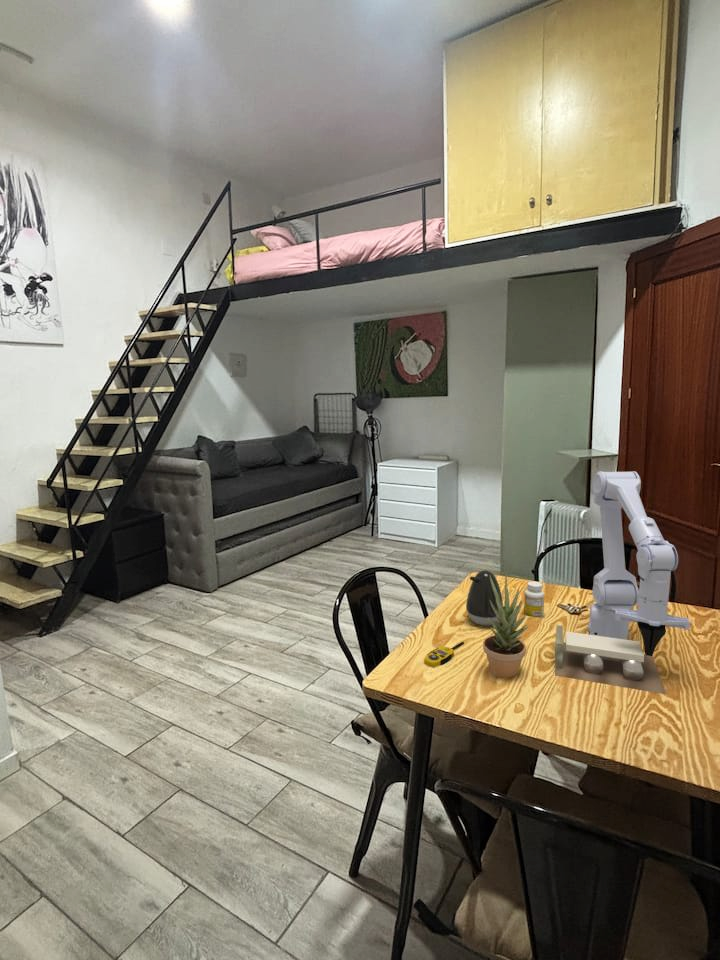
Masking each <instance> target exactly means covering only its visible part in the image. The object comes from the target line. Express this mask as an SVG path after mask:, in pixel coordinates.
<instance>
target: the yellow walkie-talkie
mask: <svg viewBox="0 0 720 960" xmlns="http://www.w3.org/2000/svg"><path fill="white" fill-rule="evenodd" d="M464 643H465V642H464V641H461V642H460V643H457V644H456V645H455V646H453V647H450V646H449V647H448V646H442V647H440V648H435V649H433V650H431V651H430V652H429V653H427V654H426V656H425V657H424V659H423V660H424V661H423V664H424V665H425V666H428V667H430V668H436V667H440V666H442V665H445V664H447V663H449V662H450V661H451V660H452V659H453V657H454V656H455V650H456V649H457V648H459V647H460V646H462V645H463V644H464Z"/></svg>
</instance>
